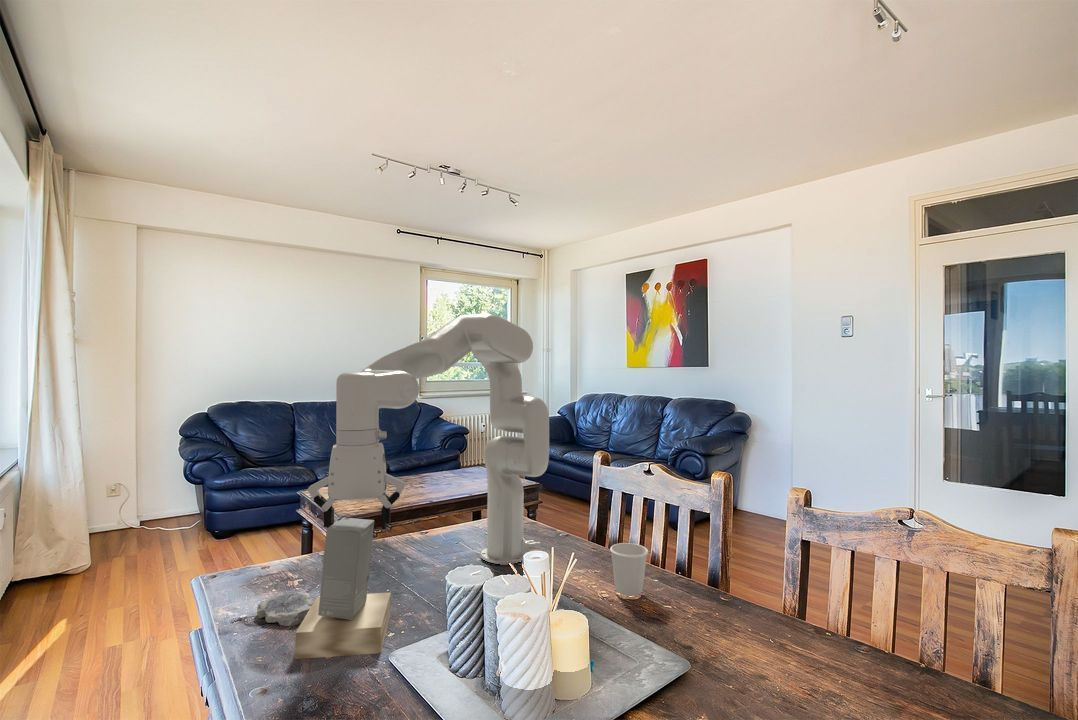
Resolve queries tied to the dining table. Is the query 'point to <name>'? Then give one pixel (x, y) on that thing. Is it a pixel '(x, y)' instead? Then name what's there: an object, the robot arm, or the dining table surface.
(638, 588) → the dixie cup
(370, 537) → the skincare box
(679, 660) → the dining table surface
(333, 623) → the maple block
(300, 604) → the grey rock
